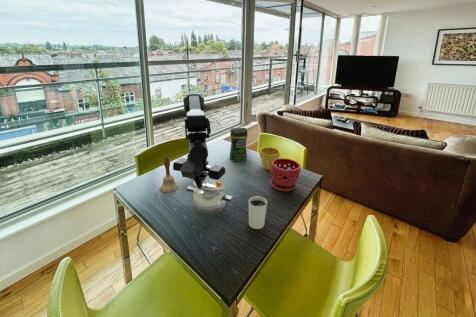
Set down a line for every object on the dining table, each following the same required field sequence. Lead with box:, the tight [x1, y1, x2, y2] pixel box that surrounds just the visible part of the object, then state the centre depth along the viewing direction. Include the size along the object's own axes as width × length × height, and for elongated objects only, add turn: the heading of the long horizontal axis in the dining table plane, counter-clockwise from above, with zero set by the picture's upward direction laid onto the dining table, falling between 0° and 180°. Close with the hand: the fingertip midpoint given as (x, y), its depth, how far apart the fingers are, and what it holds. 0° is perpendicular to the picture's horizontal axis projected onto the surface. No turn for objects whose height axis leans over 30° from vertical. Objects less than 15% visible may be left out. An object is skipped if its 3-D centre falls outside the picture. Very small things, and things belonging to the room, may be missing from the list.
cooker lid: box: [192, 179, 227, 191], centre depth 102 cm, size 13×13×2 cm
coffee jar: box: [229, 127, 249, 162], centre depth 143 cm, size 10×8×19 cm
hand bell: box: [159, 155, 179, 193], centre depth 114 cm, size 8×8×16 cm
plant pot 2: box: [270, 157, 302, 192], centre depth 117 cm, size 13×13×12 cm
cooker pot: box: [185, 185, 234, 215], centre depth 105 cm, size 20×14×6 cm
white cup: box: [248, 195, 268, 230], centre depth 93 cm, size 7×7×10 cm
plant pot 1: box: [259, 146, 281, 171], centre depth 135 cm, size 10×10×10 cm
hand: (199, 188), depth 95 cm, fingers closed
